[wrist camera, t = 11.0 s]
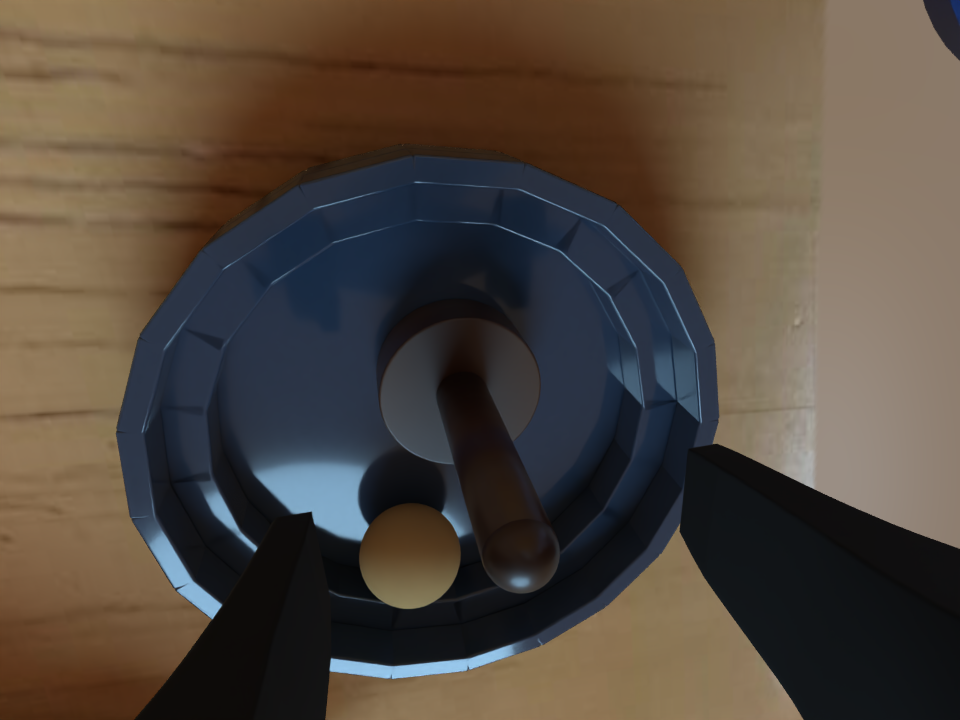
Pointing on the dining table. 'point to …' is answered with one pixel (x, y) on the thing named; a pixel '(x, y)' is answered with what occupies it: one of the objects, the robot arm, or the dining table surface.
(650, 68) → the dining table surface
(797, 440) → the dining table surface
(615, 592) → the serving tray
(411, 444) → the joystick
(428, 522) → the ball
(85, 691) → the dining table surface
